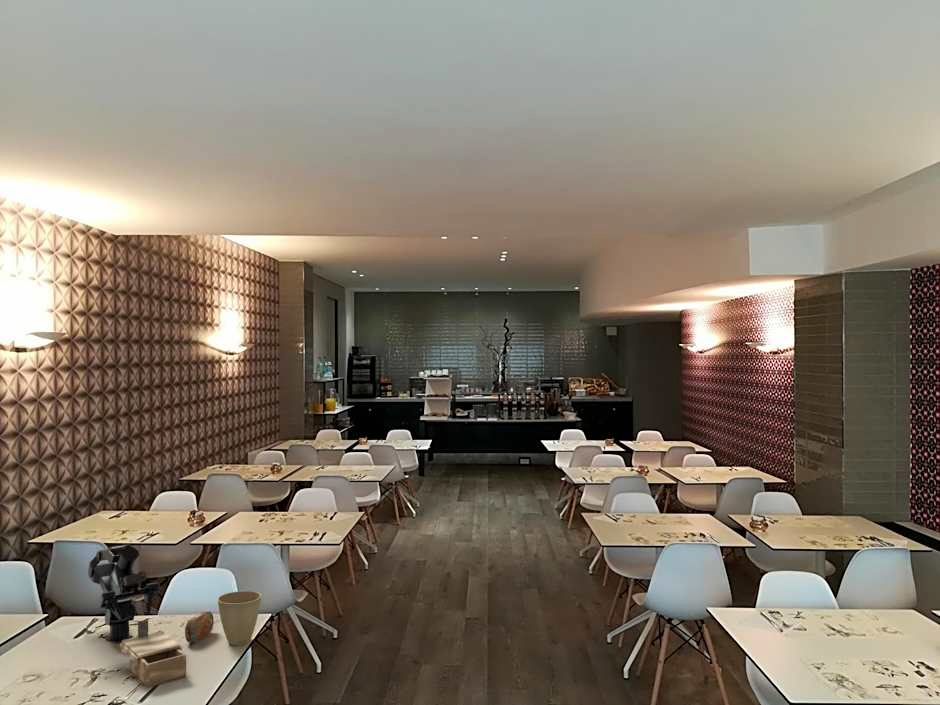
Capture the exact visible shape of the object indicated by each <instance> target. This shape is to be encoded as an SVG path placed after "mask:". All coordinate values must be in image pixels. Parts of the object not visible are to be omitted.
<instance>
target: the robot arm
mask: <svg viewBox="0 0 940 705" xmlns="http://www.w3.org/2000/svg"><path fill="white" fill-rule="evenodd" d="M139 556H140V552H139V550H138V549H137V548H135V547H133V546H132V545H131V544H124V545H123V544H122V545H116V546H110V547H108V548H104V549H99V550H98V551H96V554H95V556H94V557H93V559H91V561H89V566H88V569H87V574H88V578H90V580H91V581H92V583H94V584H97V585H99V586H100V588H101V590H102V594H101V595H100V598H99V601H98V603H99V608H101V609H105V610H106V612H105V615H104V623H105V624H106V625H107V626H109V637H106V639H105V640H106V641H108V642H111V643H112V642H113V643H116V644H118V643H122V640H126V639H130V638H134V636H133V635H131V634H130V622H131V621H132V622H133V621H134V619H135V613H136V606H135V604H134V603H133V601H132V599H131V598H132V597H138V596H142V595H143V597H144V604H145V608H146V612H147V614H148V615H150V614H151V609H152V603H153V602H152V600H154V599H155V597H157V596H158V594H159V592H160V589H161V585H160V584H159V583H158V582H150V583H146V585H145V586H144V588H141V589H139V588H140V586H141V584H142V582H143V581H144V582H145V581H146V580H147V573H146V571H145V570H141V571H138V573H134V569H133V568H134V567H135V565H136V564H137V561H138V558H139ZM102 561H107V562H102ZM100 562H101V563H100ZM114 575H115V578H116V581H115V580H114V578H113V577H114ZM116 583H117V584H116Z"/></svg>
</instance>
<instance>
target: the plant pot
mask: <svg viewBox="0 0 940 705" xmlns="http://www.w3.org/2000/svg"><path fill="white" fill-rule="evenodd" d="M261 600H262V593H260V592H257V591H253V590H252V591H251V590H241V591H240V590H238V591H231V592H227V593H224V594H222V595H220V596H219V597H217V606H218V611H219V616H220V622H221V626H222V628H223V633H224V636H225V638H226V641H227V644H228V645H230V644H231V645H230V646H234V645H239V646H243V645H242V644H244V645H247V644H249V643H250V641H251V639H252V636H253V634H254V632H255V628H256V625H257V620H258V618H259V613H260V608H261V602H262V601H261ZM246 643H247V644H246Z"/></svg>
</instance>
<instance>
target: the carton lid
mask: <svg viewBox="0 0 940 705" xmlns="http://www.w3.org/2000/svg"><path fill="white" fill-rule="evenodd" d="M176 648H178V649H180V650H181V651H182V652H183V648H182V646H181V645H180V643H178V642H177V641H175V640H174V639H173V638H172V637H171V636H169V635H168V634H166V633H165V632H164V630H160V631H156V632H152V633H149V620H148V619H145V620H139V621H137V636H135V637H134V636H133V637H132V638H129V639H126V640H122V641H121V642H119V650H120V651H121V652H122V653H123V654H124V655H125V656H126V657H127V658H128V659H131V660H132V661H133V662H134V663H135V664H136V665H138V658H141V657H145V656H149V655H153V654H156V653H160V652H164V651H168V650H172V649H176Z"/></svg>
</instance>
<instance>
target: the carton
mask: <svg viewBox="0 0 940 705" xmlns="http://www.w3.org/2000/svg"><path fill="white" fill-rule="evenodd" d="M129 666H130V667H129V669H130V670H129V672H130V673H131V674H132V675H133V676H134V677H135V679H137V681H139V682H140V683H141V684H142V686H144V687H145V688H146V689H149V688H152V687H156V686H159V685H162V684H166V683H167V684H168V683H170V682H173V681H177V680H180V679H183V678H187V654H186V653H184V652H183V650H182V651H181V650H180V649H178V648H176V649H172V650H168V651H164V652H160V653H156V654H153V655H149V656H145V657H141V658H138V665H136V664H135V663H134V662H133V661H132V660H131V659H130V660H129Z"/></svg>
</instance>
